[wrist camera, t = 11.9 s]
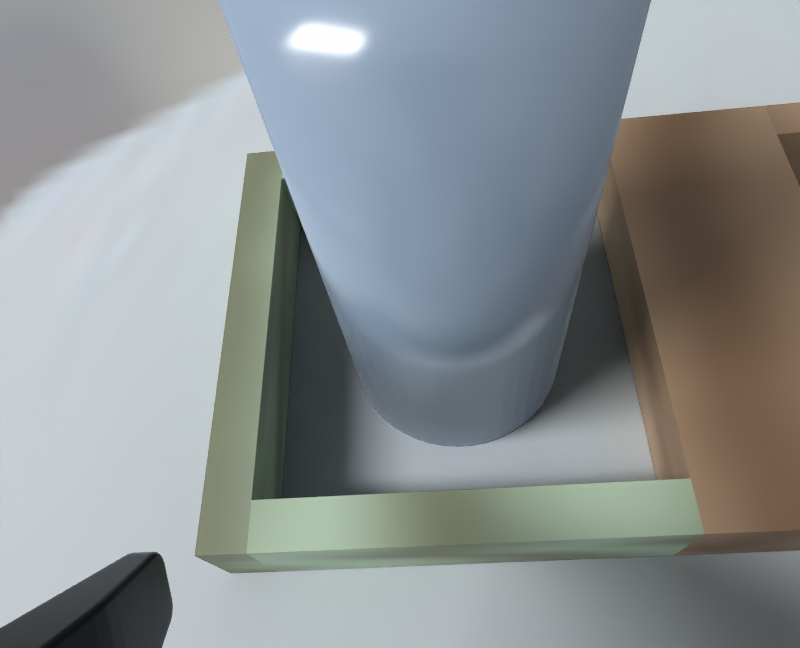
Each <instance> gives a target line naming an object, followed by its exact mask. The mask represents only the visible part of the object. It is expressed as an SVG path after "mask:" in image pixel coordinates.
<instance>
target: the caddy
mask: <svg viewBox="0 0 800 648" xmlns="http://www.w3.org/2000/svg"><path fill="white" fill-rule="evenodd" d="M597 215H598V220H599V224H600V229H601V233H602V238H603V242H604V247H605V251H606V256H607V260H608V265H609V269H610V274H611V278H612V283H613V287H614V292H615V296H616V301H617V305H618V309H619V314H620V318H621V323H622V327H623V332H624V336H625V341H626V345H627V350H628V354H629V359H630V363H631V368H632V372H633V377H634V381H635V386H636V390H637V395H638V399H639V404H640V408H641V412H642V417H643V421H644V426H645V430H646V435H647V439H648V444H649V448H650V453H651V457H652V462H653V466H654V471H655V475H656V480H649V481H628V482H608V483H588V484H568V485H547V486H527V487H507V488H487V489H466V490H446V491H426V492H406V493H385V494H365V495H345V496H325V497H304V498H284V499H281V497H282V482H283V468H284V454H285V440H286V425H287V411H288V397H289V383H290V368H291V354H292V340H293V326H294V311H295V297H296V283H297V269H298V254H299V240H300V228H303V226H302V223H301V221H300V218H299V215H298V212H297V210H296V207H295V204H294V202H293V199H292V196H291V194H290V191H289V188H288V186H287V183H286V180H285V178H284V175H283V172H282V170H281V167H280V164H279V162H278V159H277V156H276V153H275V151H271V152H260V153H249V154H247V162H246V169H245V177H244V185H243V192H242V200H241V207H240V215H239V223H238V230H237V238H236V245H235V253H234V261H233V268H232V276H231V284H230V291H229V299H228V306H227V314H226V322H225V329H224V337H223V344H222V352H221V360H220V367H219V375H218V382H217V390H216V398H215V405H214V413H213V420H212V428H211V436H210V443H209V451H208V459H207V466H206V474H205V481H204V489H203V497H202V504H201V512H200V519H199V527H198V535H197V542H196V550H195V556H196V557H198V558H200V559H202V560H204V561H207V562H209V563H211V564H213V565H215V566H217V567H219V568H221V569H223V570H225V571H227V572H230V573H250V572H274V571H299V570H324V569H349V568H373V567H398V566H423V565H448V564H473V563H497V562H522V561H547V560H572V559H596V558H621V557H646V556H671V555H695V554H720V553H745V552H770V551H794V550H800V103H789V104H779V105H768V106H757V107H746V108H735V109H724V110H714V111H703V112H692V113H681V114H670V115H660V116H649V117H638V118H627V119H621V120H620V124H619V128H618V132H617V136H616V140H615V144H614V148H613V152H612V156H611V160H610V164H609V167H608V171H607V175H606V179H605V183H604V187H603V191H602V195H601V199H600V203H599V207H598V211H597Z"/></svg>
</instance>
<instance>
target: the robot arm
mask: <svg viewBox="0 0 800 648" xmlns="http://www.w3.org/2000/svg"><path fill="white" fill-rule="evenodd" d="M172 610H173V604H172V597H171V593H170V588H169V583H168V578H167V574H166V569H165V564H164V561H163V558H162V556H161V555H160V554H158V553H157V552H142V553H131V554H128V555H126V556H124V557H122V558H121V559H119V560H117V561H116V562H114V563H112V564H110V565H109V566H107V567H105V568H103V569H102V570H100V571H98V572H97V573H95V574H93V575H91V576H90V577H88V578H86V579H84V580H83V581H81V582H79V583H78V584H76V585H74V586H72V587H71V588H69V589H67V590H65V591H64V592H62V593H60V594H59V595H57V596H55V597H53V598H52V599H50V600H48V601H46V602H45V603H43V604H41V605H40V606H38V607H36V608H34V609H33V610H31V611H29V612H27V613H26V614H24V615H22V616H21V617H19V618H17V619H15V620H14V621H12V622H10V623H8V624H7V625H5V626H3V627H2V628H0V648H162V646H163V643H164V640H165V637H166V634H167V631H168V628H169V625H170V622H171V618H172Z"/></svg>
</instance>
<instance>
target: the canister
mask: <svg viewBox="0 0 800 648" xmlns="http://www.w3.org/2000/svg"><path fill="white" fill-rule="evenodd" d="M650 2H651V0H219V3H220V6H221V8H222V11H223V14H224V17H225V19H226V22H227V25H228V27H229V30H230V33H231V35H232V38H233V41H234V44H235V46H236V49H237V52H238V54H239V57H240V59H241V62H242V65H243V68H244V70H245V73H246V76H247V78H248V81H249V84H250V86H251V89H252V92H253V94H254V97H255V100H256V103H257V105H258V108H259V111H260V113H261V116H262V119H263V121H264V124H265V127H266V129H267V132H268V135H269V137H270V140H271V143H272V145H273V148H274V151H275V153H276V156H277V159H278V162H279V164H280V167H281V170H282V172H283V175H284V178H285V180H286V183H287V186H288V188H289V191H290V194H291V196H292V199H293V202H294V204H295V207H296V210H297V212H298V215H299V218H300V221H301V223H302V226H303V229H304V231H305V234H306V237H307V239H308V242H309V245H310V247H311V250H312V253H313V255H314V258H315V261H316V263H317V266H318V269H319V272H320V274H321V277H322V280H323V282H324V285H325V288H326V290H327V293H328V296H329V298H330V301H331V304H332V306H333V309H334V312H335V314H336V317H337V320H338V322H339V325H340V328H341V331H342V333H343V336H344V339H345V341H346V344H347V347H348V349H349V352H350V355H351V357H352V360H353V363H354V365H355V368H356V371H357V373H358V376H359V379H360V381H361V384H362V387H363V389H364V391H365V393H366V395H367V397H368V399H369V401H370V402H371V404H372V405H373V407H374V408H375V409H376V410H377V411H378V413H379V414H380V415H381V416H382V417H383V418H384V419H385V420H386V421H388V422H389V423H390V424H391V425H392V426H394V427H395V428H397V429H398V430H400V431H402V432H403V433H405V434H407V435H409V436H411V437H413V438H416V439H418V440H421V441H424V442H428V443H431V444H437V445H442V446H471V445H477V444H482V443H486V442H489V441H492V440H495V439H498V438H501V437H503V436H505V435H507V434H509V433H511V432H513V431H514V430H516V429H517V428H519V427H520V426H522V425H523V424H524V423H525V422H526V421H528V420H529V419H530V418H531V417H532V416H533V415H534V414H535V413H536V412H537V410H538V409H539V408H540V407H541V406H542V404H543V403H544V401H545V399H546V398H547V396H548V395H549V392H550V390H551V388H552V386H553V383H554V380H555V376H556V372H557V369H558V365H559V361H560V357H561V353H562V349H563V345H564V341H565V337H566V333H567V329H568V325H569V321H570V317H571V313H572V309H573V305H574V302H575V298H576V294H577V290H578V286H579V282H580V278H581V274H582V270H583V266H584V262H585V258H586V254H587V250H588V246H589V242H590V238H591V234H592V231H593V227H594V223H595V219H596V215H597V211H598V207H599V203H600V199H601V195H602V191H603V187H604V183H605V179H606V175H607V171H608V167H609V164H610V160H611V156H612V152H613V148H614V144H615V140H616V136H617V132H618V128H619V124H620V120H621V116H622V112H623V108H624V104H625V100H626V96H627V93H628V89H629V85H630V81H631V77H632V73H633V69H634V65H635V61H636V57H637V53H638V49H639V45H640V41H641V37H642V33H643V29H644V26H645V22H646V18H647V14H648V10H649V6H650Z"/></svg>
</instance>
